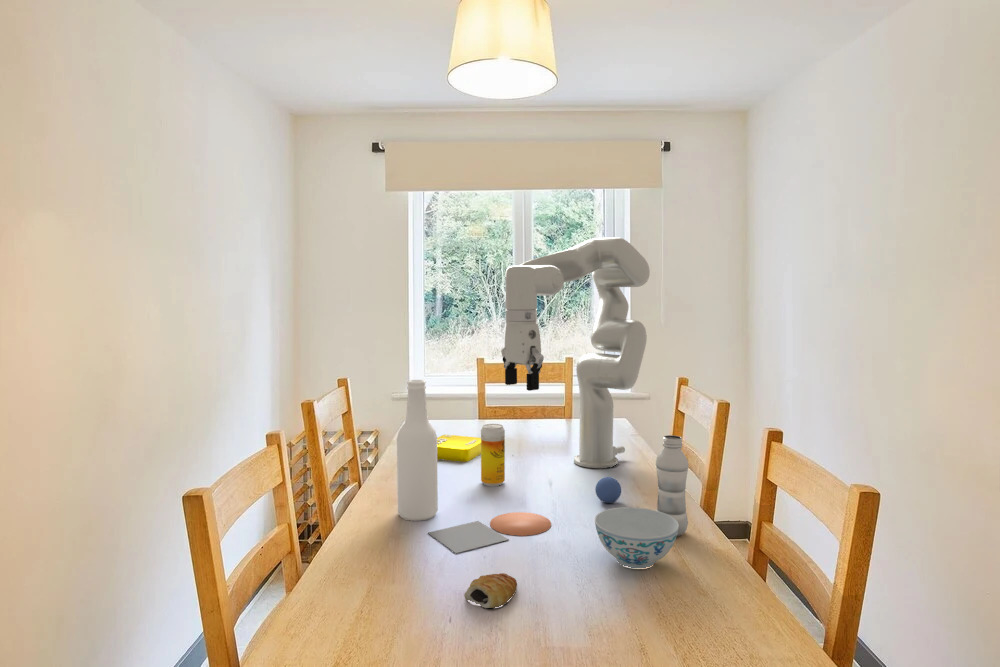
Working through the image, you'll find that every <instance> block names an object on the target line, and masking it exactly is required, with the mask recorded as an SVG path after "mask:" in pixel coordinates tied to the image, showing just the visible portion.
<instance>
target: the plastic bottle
mask: <svg viewBox="0 0 1000 667" xmlns="http://www.w3.org/2000/svg"><path fill="white" fill-rule="evenodd" d="M662 440H663V443H662V446H663V449H662V450H661V451H660V452H659V454H658V455H657V456H656V460H655V466H656V474H657V487H658V489H657V490H658V493H657V502H656V503H657V504H656V510H655V511H658V512H662V513H664V514H667V515H669V516H671V517H672V518H674V519H675V520H676V521H677V522H678V524H679V529H678V533H677V537H678V536H682V534H683V535H684V534H685V533H686V531H687V530H688V525H689V520H688V518H689V517H688V513H687V507H686V504H687V503H686V490H687V489H686V487H687V485H686V484H687V478H688V472H689V460H688V458H687V457H686V455H685V453H684V452H683V450H682V448H683V437H682V436H679V435H674V434H672V435H671V434H667V435H663V439H662Z"/></svg>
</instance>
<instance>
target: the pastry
mask: <svg viewBox="0 0 1000 667" xmlns="http://www.w3.org/2000/svg"><path fill="white" fill-rule="evenodd" d="M517 588H518V583H517V580H516V578H515V577H513V576H511V575H509V574H507V573H505V572H504V573H492V574H486V575H480V576H479V577H478V578H476V579H473V580H472V581H471V582H470V584H469V587H468V588H467V590H466V592H465V593H464V598H465V601H467V600H470V601H472V602H475V603H476V604H480V605H481V606H482V607H481V608H483V607H485V608H484V609H486V608H495V607H499V606H501V605H503V606H504V604H505V603H507V601H508V600H509V599H510V598H511V597H512V596H513V594H514V593H515V594H516V592H517ZM515 591H516V592H515ZM515 594H514V595H515ZM513 597H514V596H513ZM513 597H512V598H513ZM507 604H508V603H507ZM505 605H506V604H505Z"/></svg>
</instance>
